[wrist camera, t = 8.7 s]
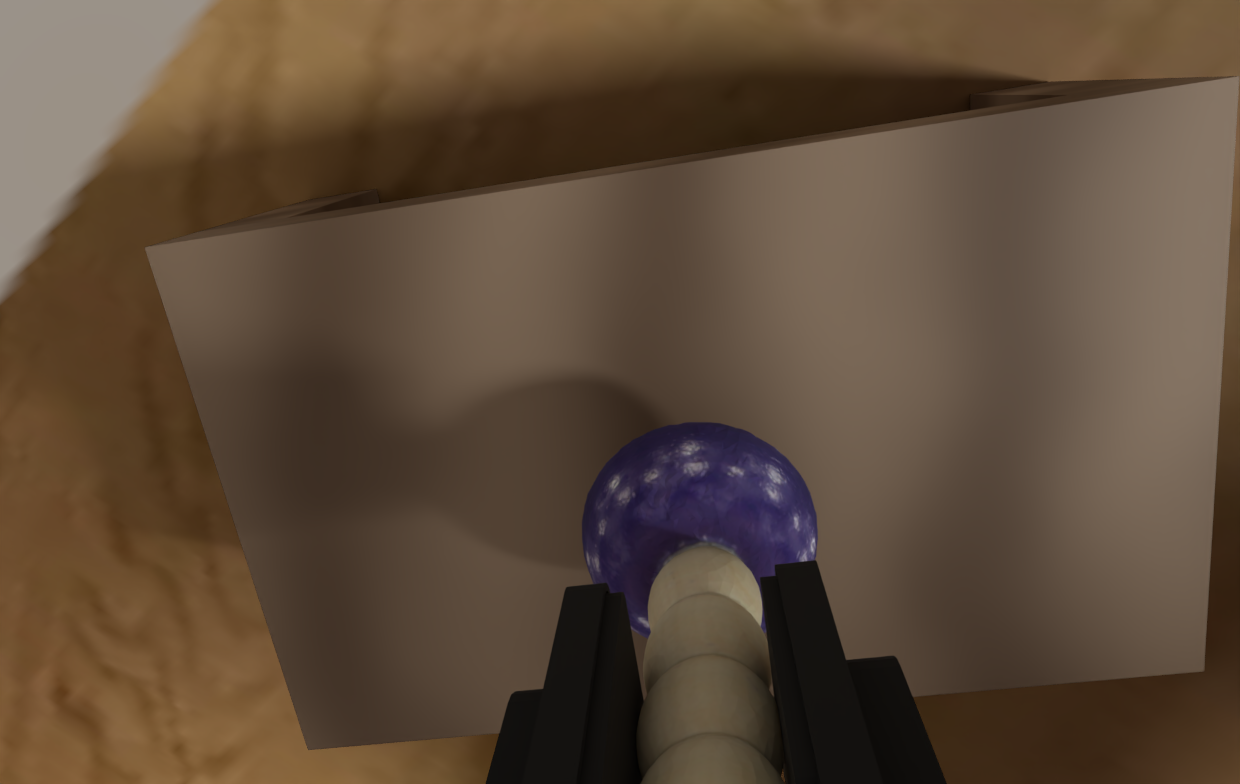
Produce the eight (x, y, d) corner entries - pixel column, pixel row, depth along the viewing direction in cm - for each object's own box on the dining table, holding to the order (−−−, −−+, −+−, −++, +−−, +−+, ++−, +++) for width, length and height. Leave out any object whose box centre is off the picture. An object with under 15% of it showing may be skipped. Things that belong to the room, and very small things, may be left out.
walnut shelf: (1050, 81, 22) (1238, 76, 15) (1052, 503, 26) (1203, 670, 19) (308, 199, 25) (145, 247, 17) (406, 574, 28) (307, 749, 21)
